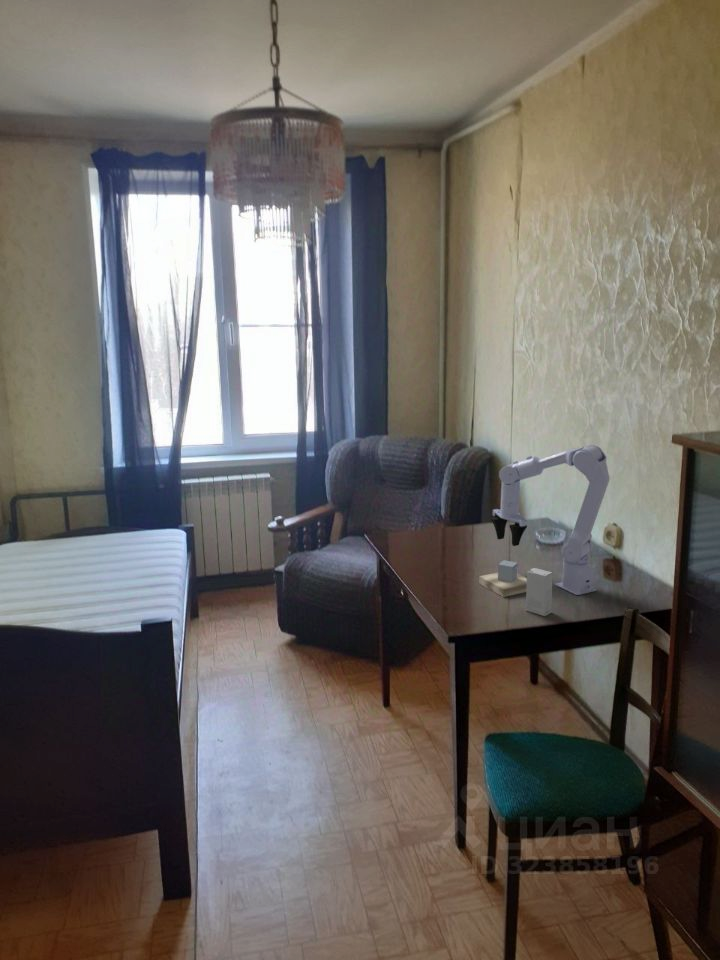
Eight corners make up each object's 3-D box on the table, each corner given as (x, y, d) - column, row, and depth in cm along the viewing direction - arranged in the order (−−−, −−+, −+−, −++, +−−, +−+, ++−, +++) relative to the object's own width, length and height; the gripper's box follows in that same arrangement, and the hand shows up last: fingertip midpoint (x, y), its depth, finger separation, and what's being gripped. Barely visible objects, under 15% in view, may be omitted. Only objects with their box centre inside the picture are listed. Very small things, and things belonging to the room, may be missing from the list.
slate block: (516, 578, 215) (517, 562, 214) (511, 582, 212) (512, 567, 210) (502, 575, 218) (503, 560, 216) (497, 579, 214) (498, 564, 213)
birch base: (534, 590, 212) (535, 582, 212) (503, 597, 207) (503, 589, 206) (509, 577, 223) (509, 570, 222) (478, 583, 217) (479, 576, 217)
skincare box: (551, 612, 196) (554, 571, 193) (543, 617, 193) (546, 576, 190) (532, 606, 200) (534, 566, 198) (524, 611, 197) (526, 570, 194)
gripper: (534, 505, 217) (532, 546, 220) (505, 495, 230) (503, 534, 233) (517, 507, 214) (515, 549, 217) (488, 497, 227) (486, 537, 230)
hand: (507, 542), depth 225 cm, fingers open, 7 cm apart
